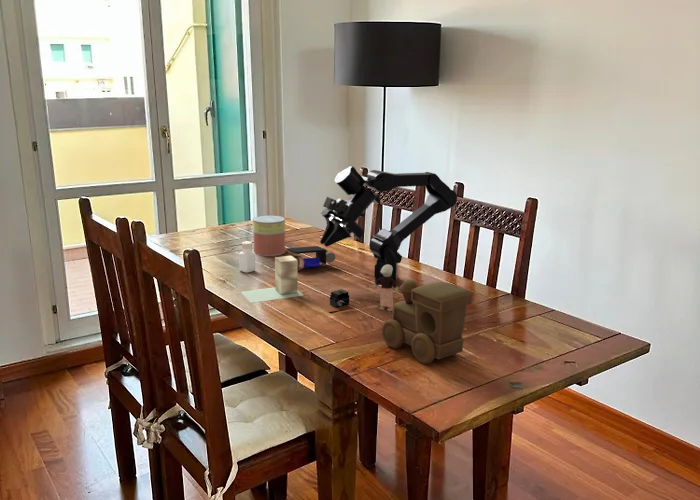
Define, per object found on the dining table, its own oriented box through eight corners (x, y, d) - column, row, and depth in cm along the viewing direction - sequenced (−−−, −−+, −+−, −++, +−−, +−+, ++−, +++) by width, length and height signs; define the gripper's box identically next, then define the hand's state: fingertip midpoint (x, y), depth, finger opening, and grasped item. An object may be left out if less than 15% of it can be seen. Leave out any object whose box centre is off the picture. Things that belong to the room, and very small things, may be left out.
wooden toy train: (470, 359, 150) (475, 291, 145) (435, 372, 143) (439, 301, 138) (411, 332, 165) (414, 269, 160) (376, 342, 158) (378, 277, 154)
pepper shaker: (247, 273, 209) (246, 244, 206) (238, 271, 211) (237, 242, 208) (256, 270, 212) (255, 242, 209) (247, 268, 214) (246, 240, 211)
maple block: (291, 287, 194) (291, 255, 192) (297, 293, 190) (297, 260, 187) (275, 290, 192) (274, 257, 189) (281, 295, 188) (281, 261, 185)
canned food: (291, 250, 236) (291, 218, 233) (271, 257, 227) (271, 224, 223) (267, 245, 242) (266, 214, 238) (246, 252, 232) (246, 219, 229)
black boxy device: (328, 317, 175) (328, 300, 174) (311, 308, 181) (311, 292, 179) (366, 307, 183) (366, 291, 181) (349, 299, 189) (349, 283, 187)
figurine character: (324, 266, 223) (284, 268, 214) (326, 244, 221) (286, 245, 213) (334, 272, 217) (293, 273, 209) (336, 249, 215) (296, 250, 207)
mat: (291, 286, 197) (291, 285, 197) (304, 296, 188) (304, 295, 188) (239, 293, 190) (239, 291, 190) (250, 304, 181) (250, 302, 181)
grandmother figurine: (400, 308, 181) (402, 264, 178) (397, 312, 178) (399, 268, 174) (374, 304, 183) (375, 261, 180) (370, 308, 180) (371, 264, 177)
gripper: (327, 182, 198) (293, 220, 196) (354, 192, 182) (318, 234, 180) (349, 205, 204) (317, 243, 202) (378, 218, 188) (343, 259, 186)
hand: (323, 244), depth 192 cm, fingers open, 3 cm apart
